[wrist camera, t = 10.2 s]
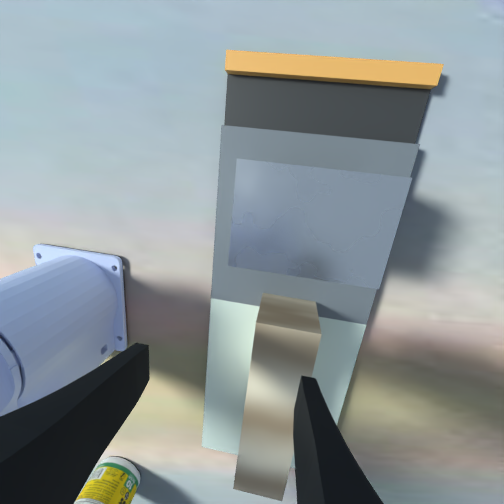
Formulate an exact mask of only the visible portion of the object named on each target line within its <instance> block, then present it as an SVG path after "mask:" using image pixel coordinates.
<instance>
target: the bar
mask: <svg viewBox="0 0 504 504" xmlns="http://www.w3.org/2000/svg"><path fill="white" fill-rule="evenodd" d="M321 335H322V333H321V328H320V322H319V317H318V312H317V306H316V302H315V301H309V300H303V299H297V298H291V297H285V296H279V295H273V294H267V293H263V294H262V298H261V303H260V307H259V311H258V316H257V320H256V326H255V333H254V340H253V348H252V355H251V363H250V370H249V377H248V385H247V392H246V399H245V407H244V414H243V422H242V429H241V436H240V444H239V451H238V458H237V466H236V473H235V480H234V488H233V489H236V490H240V491H244V492H248V493H252V494H256V495H260V496H264V497H268V498H272V499H275V500H279V501H282V499H283V495H284V491H285V487H286V482H287V478H288V474H289V470H290V466H291V461H292V457H293V453H294V443H293V421H294V407H295V402H296V397H297V393H298V388H299V384H300V379H301V375H302V376H307V377H312V373H313V369H314V365H315V361H316V356H317V352H318V348H319V344H320V340H321Z"/></svg>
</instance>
